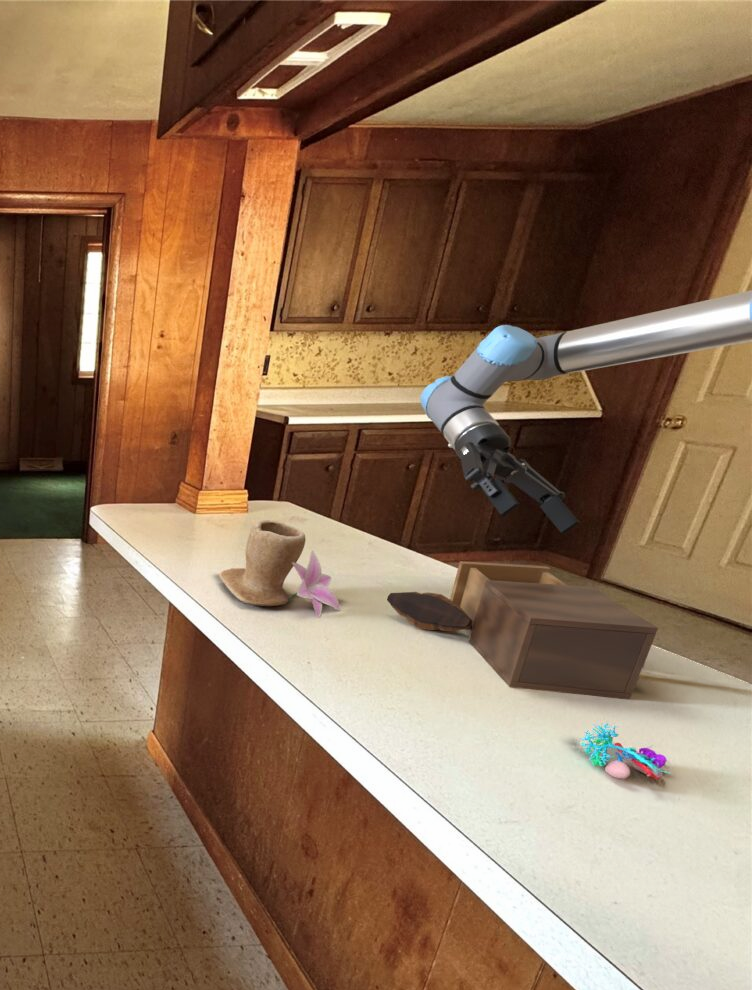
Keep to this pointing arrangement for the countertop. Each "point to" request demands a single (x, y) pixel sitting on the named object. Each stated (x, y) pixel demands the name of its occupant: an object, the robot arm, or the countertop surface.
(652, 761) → the anatomy model
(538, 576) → the drawer
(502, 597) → the cabinet
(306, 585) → the lily
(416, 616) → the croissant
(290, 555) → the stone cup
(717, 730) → the countertop surface
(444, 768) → the countertop surface
